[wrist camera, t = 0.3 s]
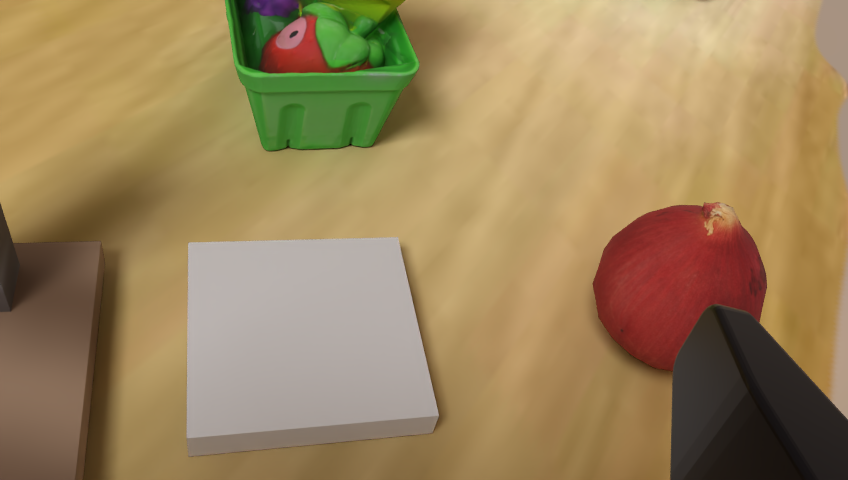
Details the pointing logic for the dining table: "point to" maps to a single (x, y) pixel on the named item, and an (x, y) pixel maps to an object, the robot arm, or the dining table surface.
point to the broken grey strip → (302, 345)
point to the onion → (675, 277)
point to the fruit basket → (320, 68)
